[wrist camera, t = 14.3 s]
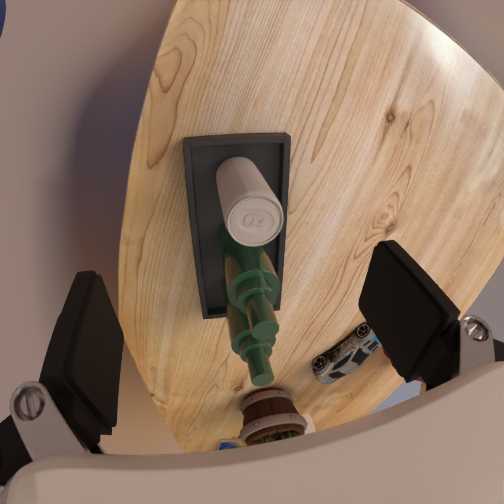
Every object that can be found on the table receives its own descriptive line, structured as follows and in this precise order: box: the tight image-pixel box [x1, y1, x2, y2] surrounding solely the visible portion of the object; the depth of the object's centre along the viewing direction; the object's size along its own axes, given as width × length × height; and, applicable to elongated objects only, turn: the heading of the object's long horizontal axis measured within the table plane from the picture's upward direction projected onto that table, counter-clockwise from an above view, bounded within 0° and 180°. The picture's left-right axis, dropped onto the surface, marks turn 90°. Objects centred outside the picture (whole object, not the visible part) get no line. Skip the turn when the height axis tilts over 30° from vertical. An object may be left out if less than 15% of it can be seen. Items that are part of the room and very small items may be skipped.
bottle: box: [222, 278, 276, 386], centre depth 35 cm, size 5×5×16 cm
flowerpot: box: [239, 387, 308, 446], centre depth 55 cm, size 14×15×20 cm
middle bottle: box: [218, 223, 280, 340], centre depth 31 cm, size 5×5×16 cm
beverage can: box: [216, 157, 284, 247], centre depth 28 cm, size 5×5×12 cm
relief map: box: [217, 438, 247, 450], centre depth 82 cm, size 25×15×2 cm, turn 167°
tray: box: [183, 133, 291, 319], centre depth 37 cm, size 12×26×2 cm, turn 0°
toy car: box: [313, 324, 382, 384], centre depth 55 cm, size 8×17×5 cm, turn 135°
